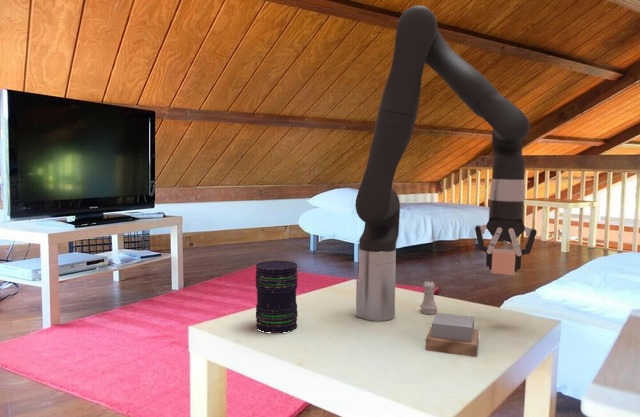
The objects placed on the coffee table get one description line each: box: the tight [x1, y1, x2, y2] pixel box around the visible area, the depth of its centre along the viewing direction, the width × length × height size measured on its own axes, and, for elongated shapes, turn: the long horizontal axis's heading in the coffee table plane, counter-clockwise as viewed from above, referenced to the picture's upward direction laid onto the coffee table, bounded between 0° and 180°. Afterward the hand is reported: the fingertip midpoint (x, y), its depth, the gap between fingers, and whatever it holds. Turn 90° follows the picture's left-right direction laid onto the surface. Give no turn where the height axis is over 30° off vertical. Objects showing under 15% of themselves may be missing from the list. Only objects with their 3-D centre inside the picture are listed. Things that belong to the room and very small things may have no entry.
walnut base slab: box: [425, 325, 480, 358], centre depth 103 cm, size 10×10×3 cm
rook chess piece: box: [419, 280, 438, 315], centre depth 126 cm, size 4×4×8 cm
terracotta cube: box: [491, 248, 516, 276], centre depth 114 cm, size 5×5×5 cm
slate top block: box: [431, 312, 475, 342], centre depth 103 cm, size 8×8×3 cm
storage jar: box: [255, 260, 299, 334], centre depth 114 cm, size 10×10×15 cm
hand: (502, 269), depth 115 cm, fingers closed on terracotta cube, 5 cm apart
